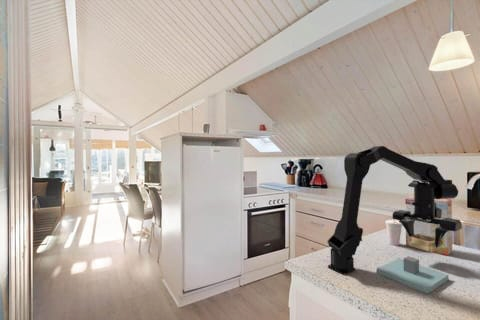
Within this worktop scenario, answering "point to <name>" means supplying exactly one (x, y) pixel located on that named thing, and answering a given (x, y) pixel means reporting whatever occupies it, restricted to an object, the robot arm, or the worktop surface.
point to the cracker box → (429, 228)
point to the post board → (413, 274)
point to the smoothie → (393, 231)
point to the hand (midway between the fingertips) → (424, 243)
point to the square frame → (423, 242)
